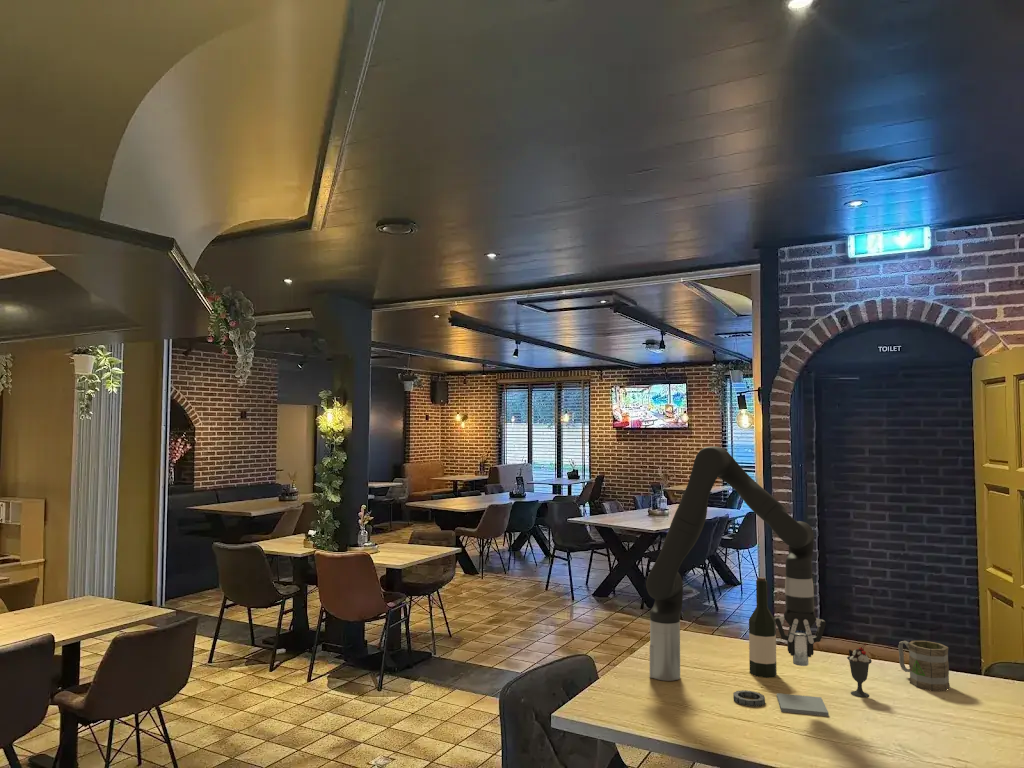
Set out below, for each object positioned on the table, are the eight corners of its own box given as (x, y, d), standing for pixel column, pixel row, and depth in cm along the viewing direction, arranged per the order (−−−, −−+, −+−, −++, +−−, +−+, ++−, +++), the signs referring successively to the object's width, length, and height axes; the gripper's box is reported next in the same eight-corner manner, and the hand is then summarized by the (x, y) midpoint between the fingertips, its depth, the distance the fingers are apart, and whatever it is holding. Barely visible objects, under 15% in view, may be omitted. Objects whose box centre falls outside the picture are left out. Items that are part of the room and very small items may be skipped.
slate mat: (781, 711, 196) (781, 707, 196) (776, 696, 208) (776, 693, 208) (828, 716, 193) (828, 712, 193) (821, 701, 205) (821, 697, 205)
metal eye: (734, 704, 201) (734, 699, 201) (732, 694, 209) (732, 689, 209) (765, 707, 199) (765, 702, 199) (763, 697, 207) (763, 692, 207)
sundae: (875, 699, 206) (874, 646, 208) (850, 697, 208) (849, 644, 209) (869, 691, 213) (867, 639, 214) (845, 689, 214) (843, 638, 215)
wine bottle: (773, 670, 232) (771, 575, 235) (780, 678, 224) (778, 580, 226) (746, 668, 233) (745, 575, 235) (752, 677, 225) (751, 579, 227)
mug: (958, 689, 216) (957, 648, 217) (933, 693, 212) (931, 651, 213) (912, 673, 231) (911, 635, 232) (887, 677, 227) (886, 638, 228)
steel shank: (794, 665, 200) (793, 635, 201) (792, 661, 204) (791, 632, 204) (809, 666, 199) (808, 636, 200) (807, 662, 203) (806, 633, 203)
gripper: (774, 594, 201) (775, 657, 200) (828, 597, 197) (830, 661, 196) (771, 589, 208) (772, 650, 207) (824, 592, 205) (825, 654, 203)
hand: (800, 655), depth 202 cm, fingers closed on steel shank, 4 cm apart
